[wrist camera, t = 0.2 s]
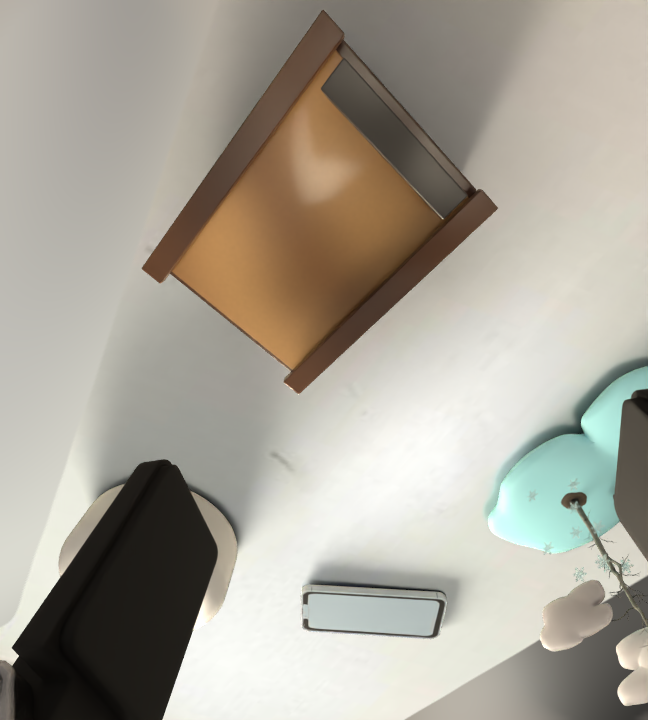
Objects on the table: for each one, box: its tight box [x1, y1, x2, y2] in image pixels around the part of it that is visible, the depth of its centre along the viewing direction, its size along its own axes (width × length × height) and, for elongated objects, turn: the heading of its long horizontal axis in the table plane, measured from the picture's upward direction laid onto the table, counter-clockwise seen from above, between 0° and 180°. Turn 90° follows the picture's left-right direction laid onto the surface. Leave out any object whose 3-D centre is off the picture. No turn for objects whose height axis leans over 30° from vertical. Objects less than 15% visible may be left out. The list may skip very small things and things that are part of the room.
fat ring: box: [59, 484, 237, 631], centre depth 39 cm, size 15×15×7 cm
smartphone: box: [301, 585, 447, 639], centre depth 45 cm, size 7×1×15 cm
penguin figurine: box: [488, 366, 648, 706], centre depth 28 cm, size 20×11×15 cm, turn 147°
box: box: [142, 10, 498, 394], centre depth 23 cm, size 13×10×9 cm
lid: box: [172, 50, 469, 370], centre depth 19 cm, size 12×8×3 cm
